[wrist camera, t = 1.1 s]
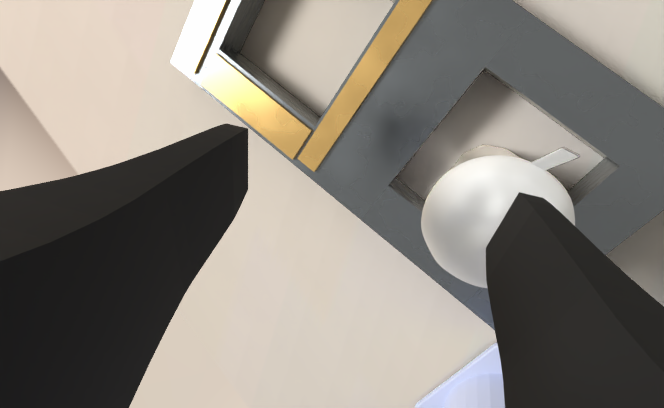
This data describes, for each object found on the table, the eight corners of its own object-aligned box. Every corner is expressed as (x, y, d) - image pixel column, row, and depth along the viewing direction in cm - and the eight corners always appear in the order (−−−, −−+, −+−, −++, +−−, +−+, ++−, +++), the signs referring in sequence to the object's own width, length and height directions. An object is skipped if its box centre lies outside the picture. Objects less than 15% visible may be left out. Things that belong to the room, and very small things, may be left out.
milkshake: (566, 145, 18) (665, 199, 9) (498, 232, 20) (521, 349, 11) (480, 100, 18) (488, 107, 9) (424, 189, 20) (386, 264, 11)
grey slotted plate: (702, 149, 16) (736, 157, 14) (498, 314, 21) (501, 337, 19) (284, -149, 18) (262, -178, 16) (193, 64, 23) (167, 62, 21)
